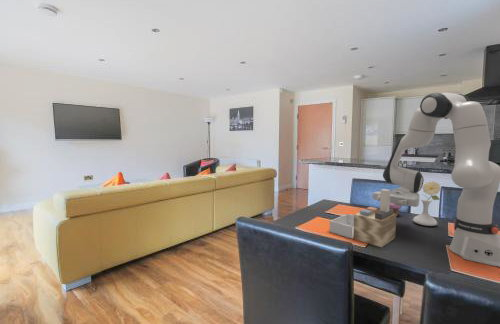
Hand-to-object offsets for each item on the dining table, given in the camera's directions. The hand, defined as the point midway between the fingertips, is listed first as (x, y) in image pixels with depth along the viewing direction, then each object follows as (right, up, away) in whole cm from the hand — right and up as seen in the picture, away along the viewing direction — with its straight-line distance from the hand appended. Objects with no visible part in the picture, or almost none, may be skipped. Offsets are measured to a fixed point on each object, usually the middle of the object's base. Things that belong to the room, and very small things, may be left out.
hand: (388, 201), depth 122 cm
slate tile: (-11, -6, +1) cm, 13 cm away
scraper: (-4, -7, -2) cm, 8 cm away
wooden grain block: (-6, -18, +2) cm, 19 cm away
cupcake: (+24, -15, +39) cm, 48 cm away
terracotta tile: (-6, -6, +5) cm, 10 cm away
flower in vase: (+32, -17, +21) cm, 42 cm away
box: (-15, -17, +11) cm, 25 cm away
